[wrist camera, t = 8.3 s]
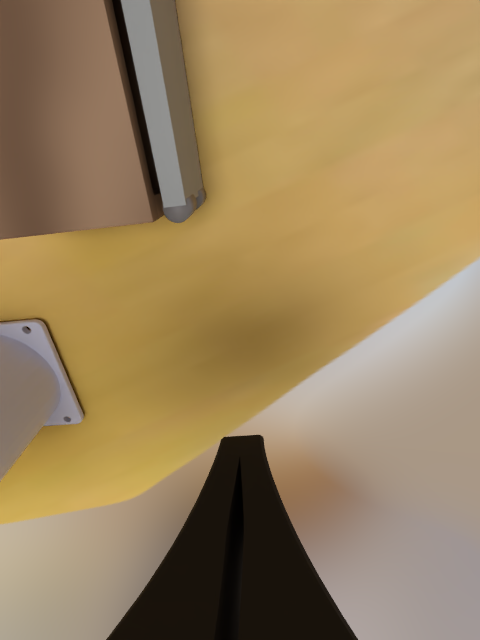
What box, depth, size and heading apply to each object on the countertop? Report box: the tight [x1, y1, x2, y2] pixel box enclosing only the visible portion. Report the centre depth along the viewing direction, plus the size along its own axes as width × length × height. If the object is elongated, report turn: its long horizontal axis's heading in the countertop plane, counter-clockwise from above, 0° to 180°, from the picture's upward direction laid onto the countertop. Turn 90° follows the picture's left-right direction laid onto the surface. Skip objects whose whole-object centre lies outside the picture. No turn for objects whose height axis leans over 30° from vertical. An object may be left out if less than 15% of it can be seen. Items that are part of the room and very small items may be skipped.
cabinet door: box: [121, 0, 206, 223], centre depth 11 cm, size 2×13×5 cm, turn 6°
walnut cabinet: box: [0, 0, 165, 240], centre depth 11 cm, size 6×13×6 cm, turn 6°
